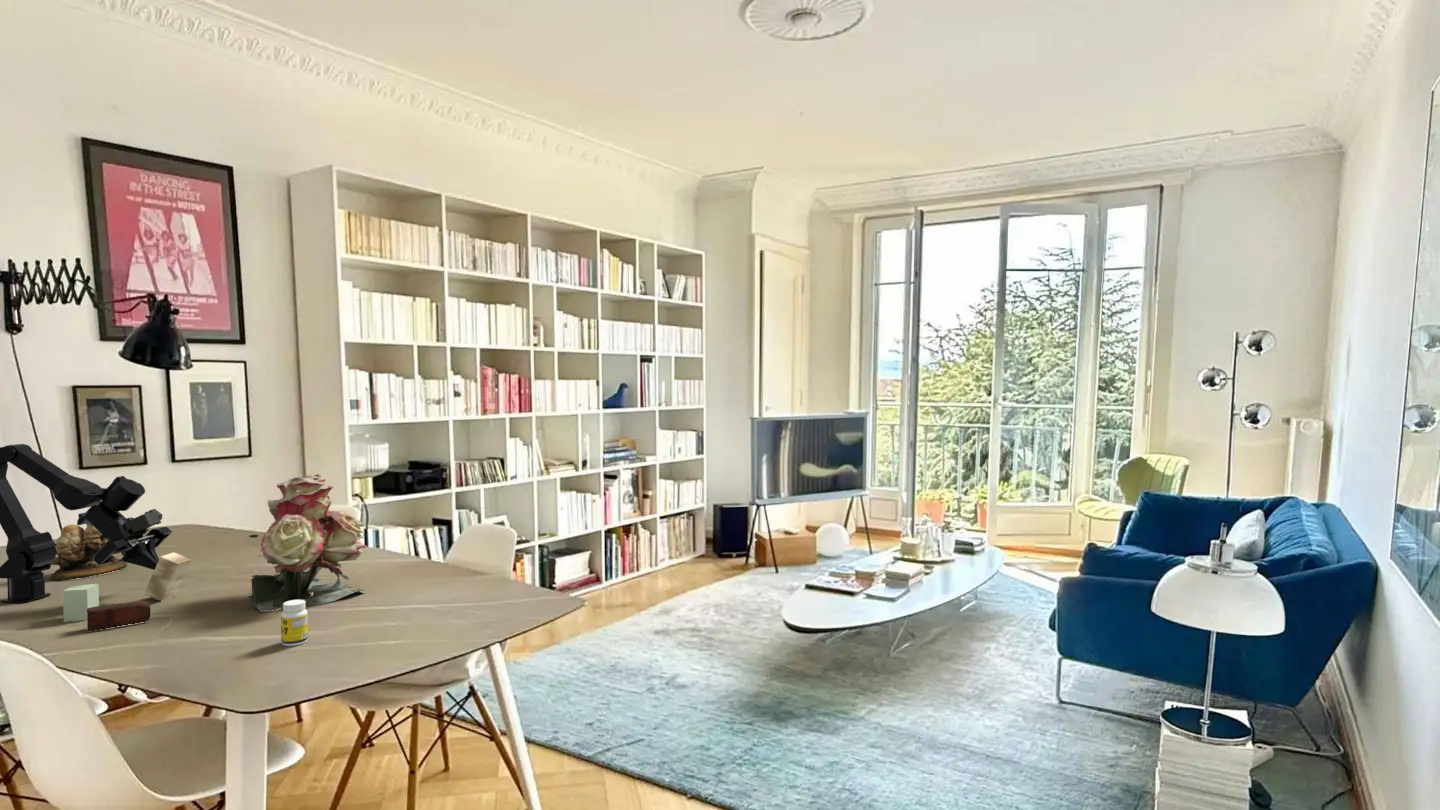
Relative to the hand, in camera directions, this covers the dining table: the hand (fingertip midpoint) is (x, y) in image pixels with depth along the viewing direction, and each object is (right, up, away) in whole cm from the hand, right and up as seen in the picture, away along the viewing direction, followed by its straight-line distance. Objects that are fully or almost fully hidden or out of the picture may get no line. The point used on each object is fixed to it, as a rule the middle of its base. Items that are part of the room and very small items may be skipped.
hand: (159, 569), depth 180 cm
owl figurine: (-37, -6, +24) cm, 44 cm away
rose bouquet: (+34, -8, +5) cm, 35 cm away
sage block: (-7, -8, -14) cm, 18 cm away
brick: (+5, -8, -19) cm, 21 cm away
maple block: (0, -6, 0) cm, 6 cm away
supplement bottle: (+49, -9, -28) cm, 57 cm away
